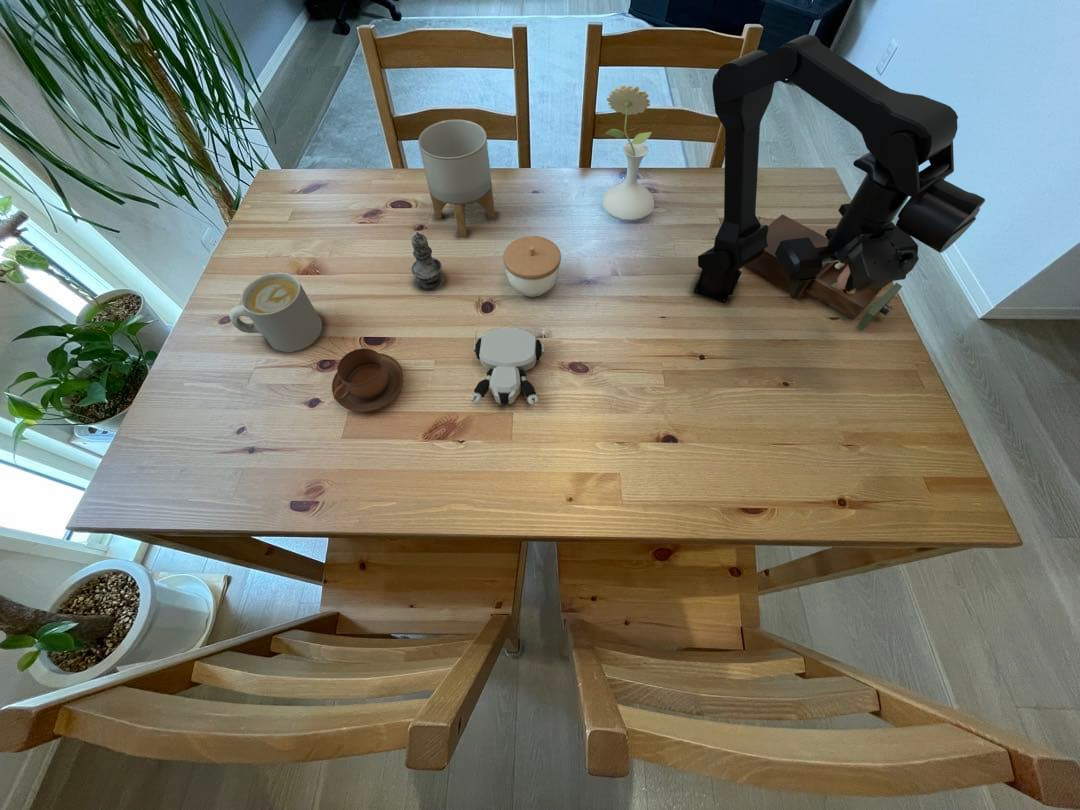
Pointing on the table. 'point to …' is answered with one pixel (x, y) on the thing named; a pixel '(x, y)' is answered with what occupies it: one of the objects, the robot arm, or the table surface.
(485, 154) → the planter
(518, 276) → the trinket box
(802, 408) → the table surface
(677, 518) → the table surface
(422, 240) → the stone statuette
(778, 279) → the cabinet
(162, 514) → the table surface
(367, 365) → the cup and saucer
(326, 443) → the table surface
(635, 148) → the flower in vase
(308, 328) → the coffee mug
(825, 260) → the robot arm
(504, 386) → the robot toy
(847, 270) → the grandmother figurine
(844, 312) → the drawer
